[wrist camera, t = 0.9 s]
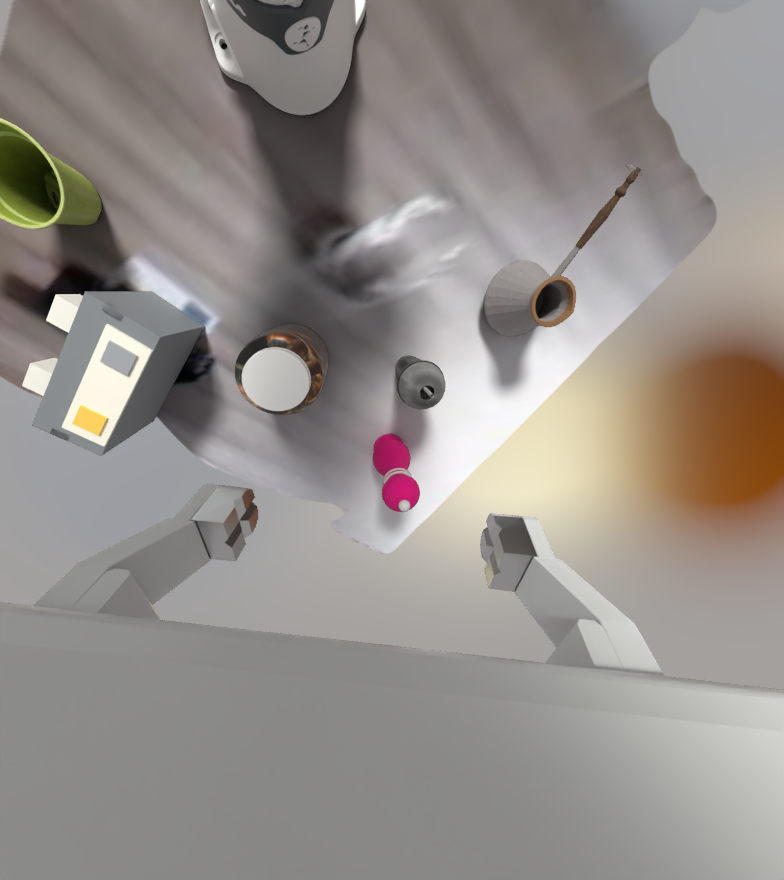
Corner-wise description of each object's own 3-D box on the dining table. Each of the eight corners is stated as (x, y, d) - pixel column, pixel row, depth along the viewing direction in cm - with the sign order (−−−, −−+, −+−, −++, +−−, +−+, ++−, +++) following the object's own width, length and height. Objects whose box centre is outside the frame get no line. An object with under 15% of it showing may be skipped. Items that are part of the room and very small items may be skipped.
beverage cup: (399, 394, 58) (422, 439, 40) (380, 360, 55) (397, 393, 37) (433, 375, 57) (472, 413, 39) (416, 339, 54) (450, 363, 36)
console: (103, 395, 51) (26, 427, 39) (151, 291, 46) (80, 291, 33) (153, 420, 54) (97, 458, 42) (204, 326, 49) (157, 337, 36)
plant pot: (60, 244, 42) (-5, 234, 34) (12, 155, 38) (-74, 120, 30) (130, 235, 43) (82, 222, 35) (91, 146, 38) (26, 109, 31)
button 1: (70, 318, 40) (46, 320, 37) (79, 294, 39) (55, 294, 36) (112, 342, 42) (93, 346, 38) (122, 320, 41) (103, 322, 37)
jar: (270, 309, 49) (242, 316, 35) (338, 342, 52) (336, 359, 39) (249, 375, 53) (216, 403, 39) (314, 401, 56) (303, 436, 43)
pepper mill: (366, 457, 63) (373, 522, 45) (379, 427, 60) (392, 483, 42) (397, 466, 65) (417, 532, 47) (411, 437, 62) (437, 496, 45)
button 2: (46, 378, 42) (22, 385, 39) (54, 357, 42) (30, 363, 38) (87, 398, 44) (67, 407, 41) (96, 379, 43) (76, 386, 40)
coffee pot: (518, 344, 57) (571, 360, 43) (466, 319, 54) (506, 329, 40) (588, 216, 49) (678, 188, 36) (531, 179, 46) (608, 132, 32)
